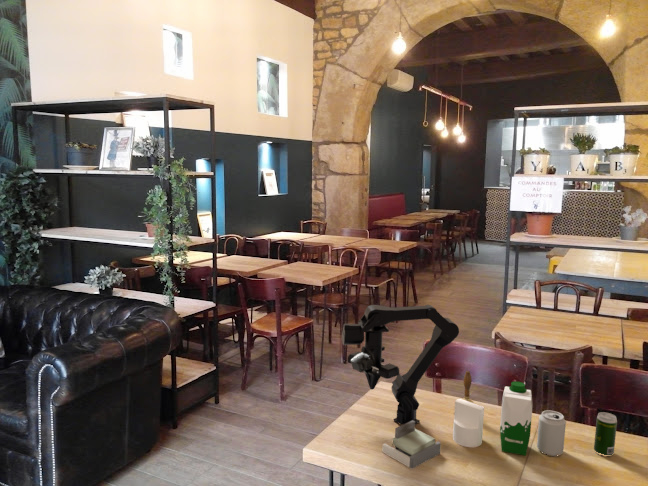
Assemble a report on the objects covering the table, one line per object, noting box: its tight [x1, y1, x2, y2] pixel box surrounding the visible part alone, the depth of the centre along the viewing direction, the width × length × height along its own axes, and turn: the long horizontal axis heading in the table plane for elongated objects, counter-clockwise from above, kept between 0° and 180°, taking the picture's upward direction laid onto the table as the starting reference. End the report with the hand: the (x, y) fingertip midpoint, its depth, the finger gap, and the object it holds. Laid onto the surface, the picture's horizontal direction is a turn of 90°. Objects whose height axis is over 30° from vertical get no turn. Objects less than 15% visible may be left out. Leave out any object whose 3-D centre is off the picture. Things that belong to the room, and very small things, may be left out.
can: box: [536, 409, 567, 457], centre depth 161 cm, size 8×8×12 cm
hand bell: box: [462, 370, 474, 403], centre depth 183 cm, size 8×8×16 cm
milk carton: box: [499, 380, 533, 457], centre depth 161 cm, size 9×9×20 cm
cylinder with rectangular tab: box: [452, 398, 485, 448], centre depth 166 cm, size 9×9×12 cm
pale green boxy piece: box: [392, 420, 436, 456], centre depth 158 cm, size 10×8×6 cm
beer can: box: [593, 411, 618, 456], centre depth 160 cm, size 5×5×12 cm
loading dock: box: [381, 441, 441, 470], centre depth 159 cm, size 13×12×4 cm
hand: (372, 389), depth 175 cm, fingers closed
